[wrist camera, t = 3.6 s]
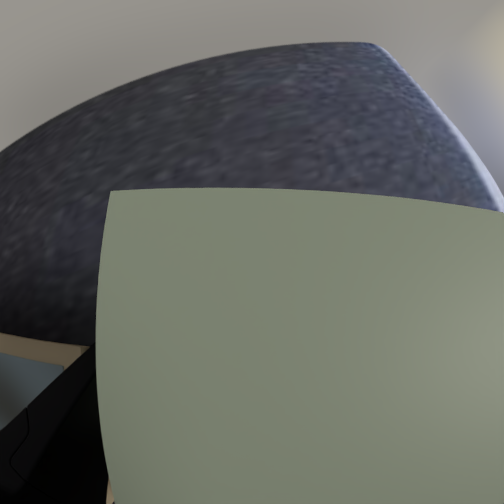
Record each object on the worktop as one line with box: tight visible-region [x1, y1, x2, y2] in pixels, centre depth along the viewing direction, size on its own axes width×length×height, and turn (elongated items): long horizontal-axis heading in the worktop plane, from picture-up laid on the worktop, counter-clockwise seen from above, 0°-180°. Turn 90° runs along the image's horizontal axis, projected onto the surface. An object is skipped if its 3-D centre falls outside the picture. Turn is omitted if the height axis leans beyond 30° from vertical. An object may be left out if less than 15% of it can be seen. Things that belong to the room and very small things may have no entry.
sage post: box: [96, 188, 504, 504], centre depth 8 cm, size 5×5×13 cm
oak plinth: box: [0, 333, 114, 504], centre depth 10 cm, size 9×9×3 cm
